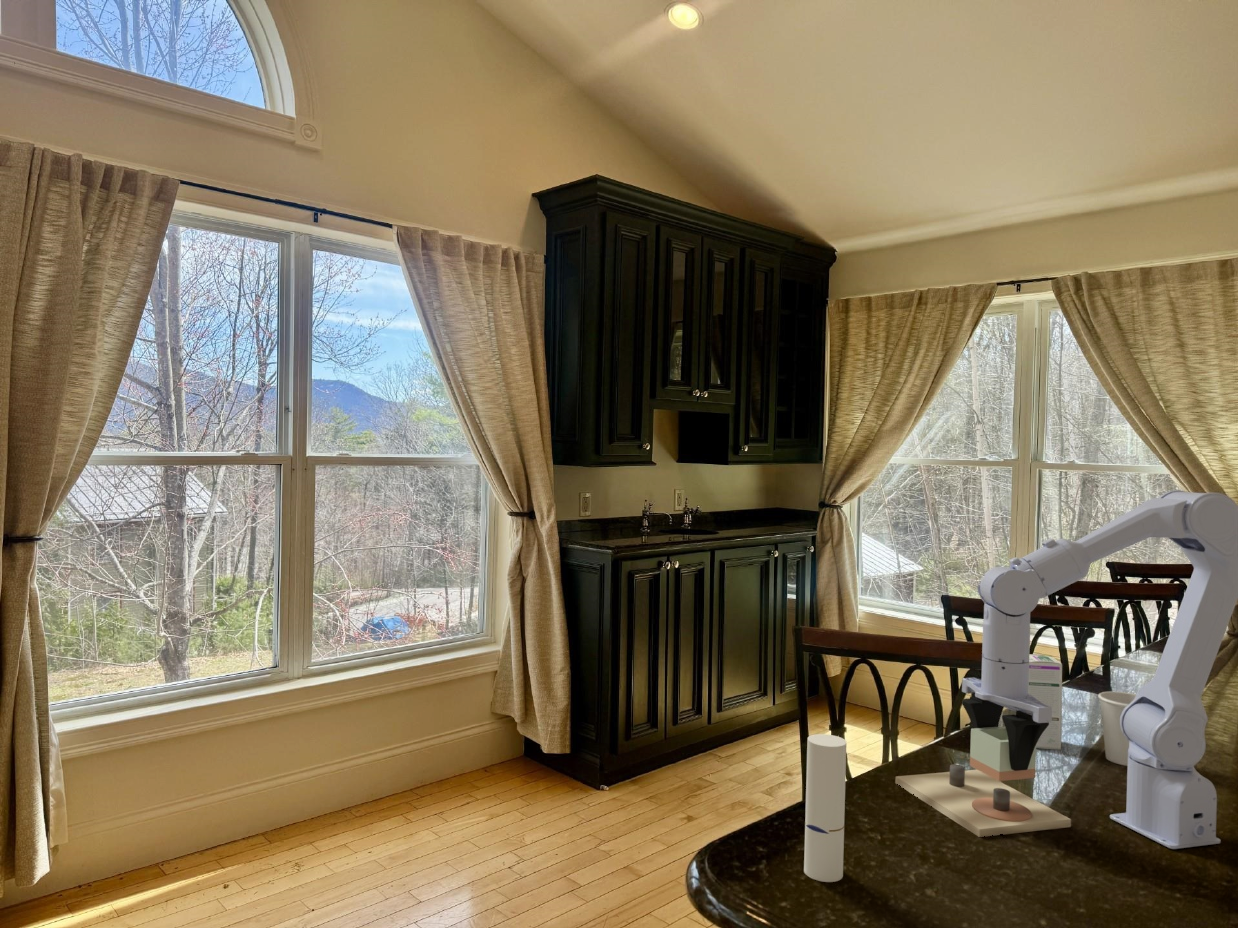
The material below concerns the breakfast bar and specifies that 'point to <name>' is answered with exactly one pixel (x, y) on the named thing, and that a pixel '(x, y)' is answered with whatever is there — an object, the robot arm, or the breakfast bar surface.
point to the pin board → (981, 802)
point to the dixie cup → (1115, 725)
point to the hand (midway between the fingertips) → (1002, 760)
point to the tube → (825, 807)
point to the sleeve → (996, 754)
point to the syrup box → (1047, 695)
